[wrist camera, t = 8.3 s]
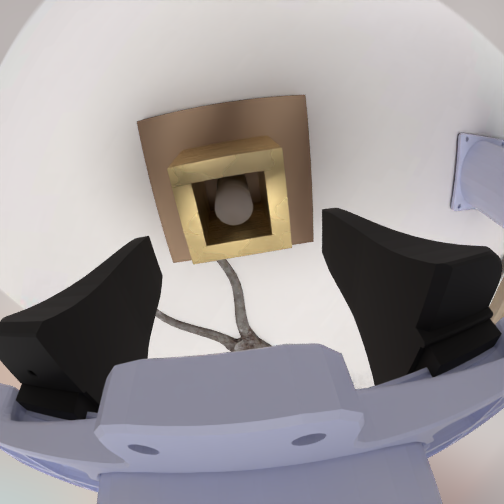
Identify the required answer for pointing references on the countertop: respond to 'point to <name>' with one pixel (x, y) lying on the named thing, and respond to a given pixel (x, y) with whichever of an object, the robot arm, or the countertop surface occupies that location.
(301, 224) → the post board
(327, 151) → the countertop surface
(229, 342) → the pliers
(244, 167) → the collar
